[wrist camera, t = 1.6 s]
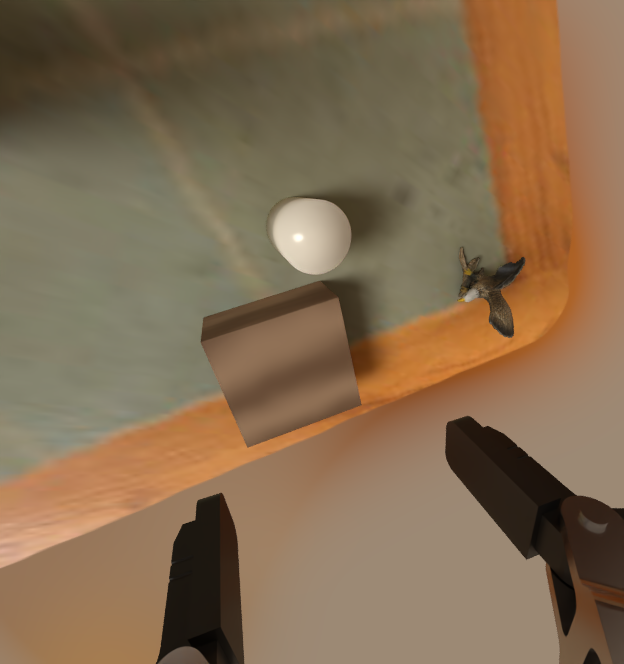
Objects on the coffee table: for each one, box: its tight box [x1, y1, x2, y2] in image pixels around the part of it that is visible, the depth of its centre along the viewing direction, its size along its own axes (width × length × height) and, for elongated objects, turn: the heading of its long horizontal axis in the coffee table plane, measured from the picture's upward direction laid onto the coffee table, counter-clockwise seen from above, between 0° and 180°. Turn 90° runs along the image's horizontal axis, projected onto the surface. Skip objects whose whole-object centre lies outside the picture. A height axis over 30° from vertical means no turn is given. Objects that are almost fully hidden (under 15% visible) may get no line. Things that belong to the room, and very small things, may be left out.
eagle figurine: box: [457, 247, 525, 338], centre depth 34 cm, size 8×7×9 cm
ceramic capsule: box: [266, 197, 351, 275], centre depth 27 cm, size 5×5×8 cm
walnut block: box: [201, 281, 361, 447], centre depth 33 cm, size 12×12×6 cm
